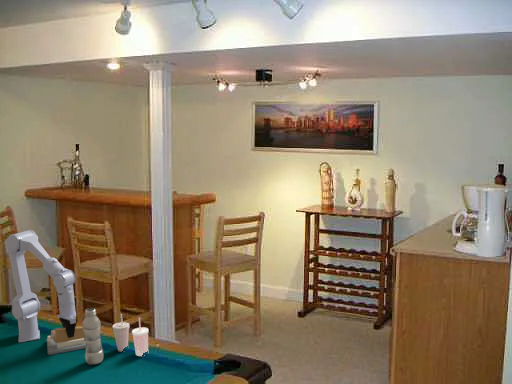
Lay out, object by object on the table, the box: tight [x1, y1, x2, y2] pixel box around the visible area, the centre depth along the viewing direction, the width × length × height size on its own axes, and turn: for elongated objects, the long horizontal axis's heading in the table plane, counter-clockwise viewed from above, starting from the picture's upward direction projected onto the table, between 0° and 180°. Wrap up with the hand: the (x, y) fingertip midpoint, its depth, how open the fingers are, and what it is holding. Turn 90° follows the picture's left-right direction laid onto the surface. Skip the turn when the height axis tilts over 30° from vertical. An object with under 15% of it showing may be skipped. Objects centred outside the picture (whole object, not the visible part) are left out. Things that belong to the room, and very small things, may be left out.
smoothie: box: [112, 313, 131, 353], centre depth 216 cm, size 6×6×14 cm
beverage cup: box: [131, 316, 149, 357], centre depth 212 cm, size 6×6×14 cm
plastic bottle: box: [81, 307, 104, 366], centre depth 205 cm, size 6×7×20 cm
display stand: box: [46, 335, 86, 356], centre depth 224 cm, size 14×17×3 cm
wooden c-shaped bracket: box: [50, 325, 85, 343], centre depth 225 cm, size 8×12×5 cm, turn 122°
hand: (69, 336), depth 222 cm, fingers closed on wooden c-shaped bracket, 2 cm apart
